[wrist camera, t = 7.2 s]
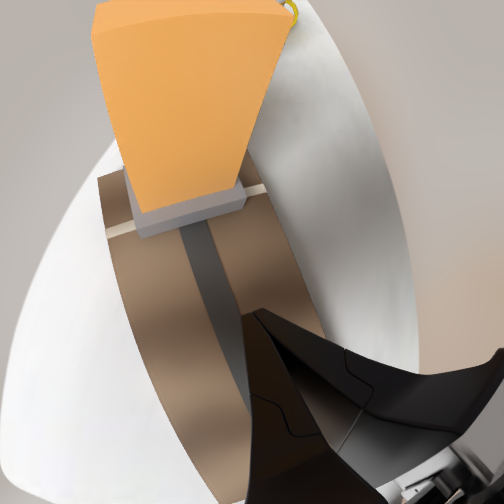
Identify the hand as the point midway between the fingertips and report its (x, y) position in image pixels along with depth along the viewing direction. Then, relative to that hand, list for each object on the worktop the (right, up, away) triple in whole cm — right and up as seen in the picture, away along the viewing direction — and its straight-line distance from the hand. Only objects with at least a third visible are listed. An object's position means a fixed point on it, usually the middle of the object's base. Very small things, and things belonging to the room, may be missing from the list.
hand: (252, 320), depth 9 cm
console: (-2, -2, +7) cm, 7 cm away
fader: (-4, +6, +6) cm, 9 cm away
